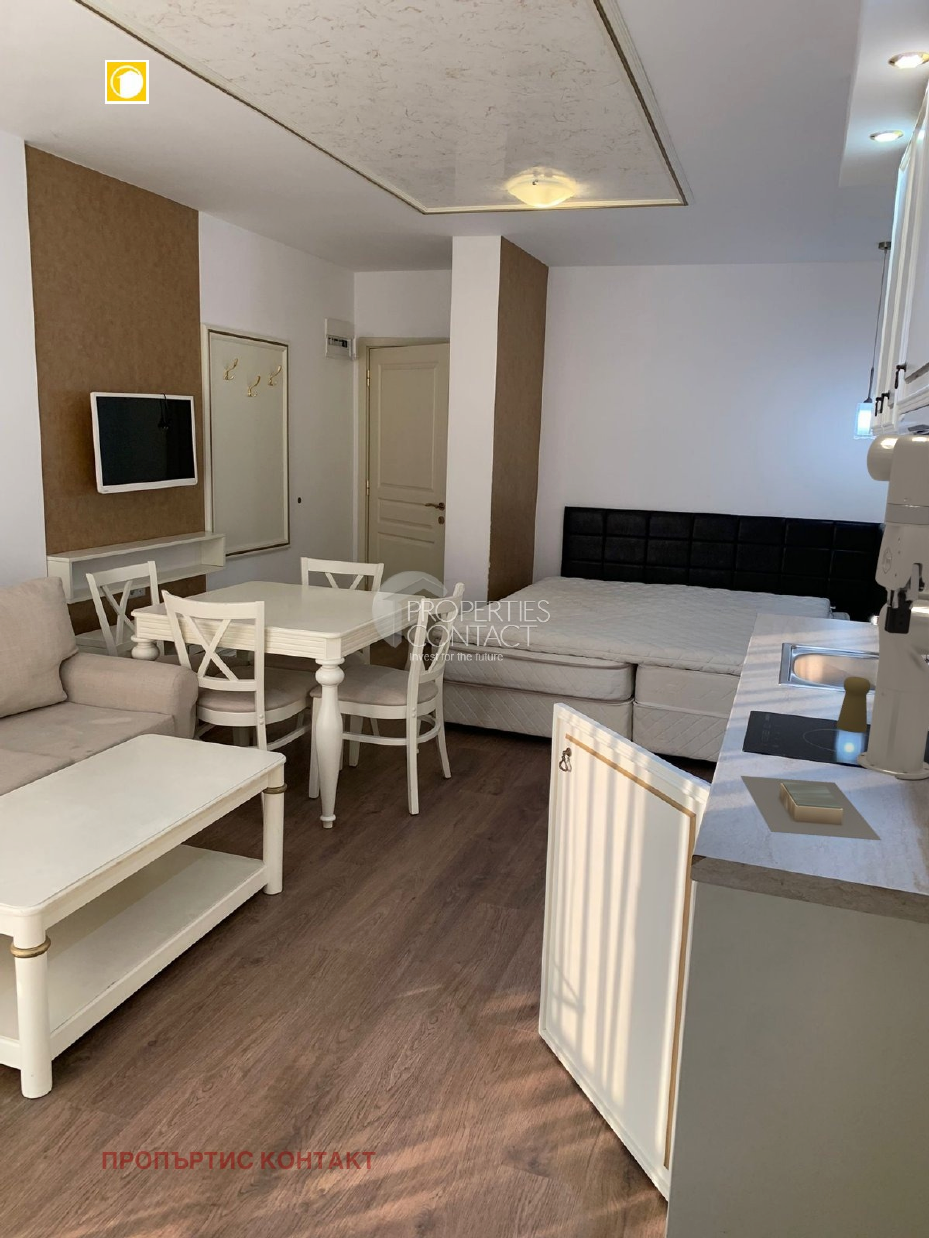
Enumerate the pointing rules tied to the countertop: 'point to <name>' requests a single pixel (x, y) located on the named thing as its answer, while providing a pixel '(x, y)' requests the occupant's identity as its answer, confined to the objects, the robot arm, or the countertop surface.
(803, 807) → the card box
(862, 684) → the olive brown pepper mill
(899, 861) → the countertop surface
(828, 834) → the mat
